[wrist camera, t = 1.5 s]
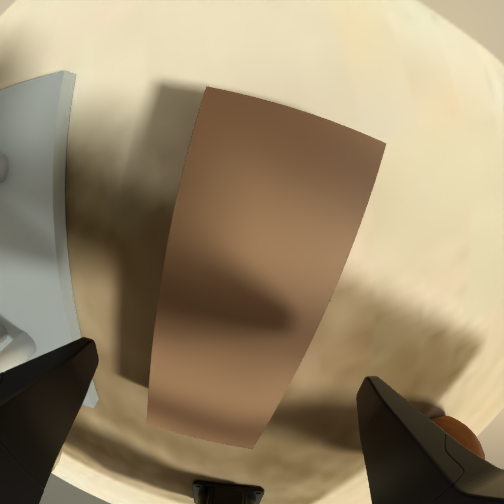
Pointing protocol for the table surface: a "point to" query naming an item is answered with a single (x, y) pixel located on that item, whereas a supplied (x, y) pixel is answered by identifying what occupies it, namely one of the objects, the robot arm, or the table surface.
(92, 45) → the table surface
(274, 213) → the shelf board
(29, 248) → the peg stand
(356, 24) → the table surface
